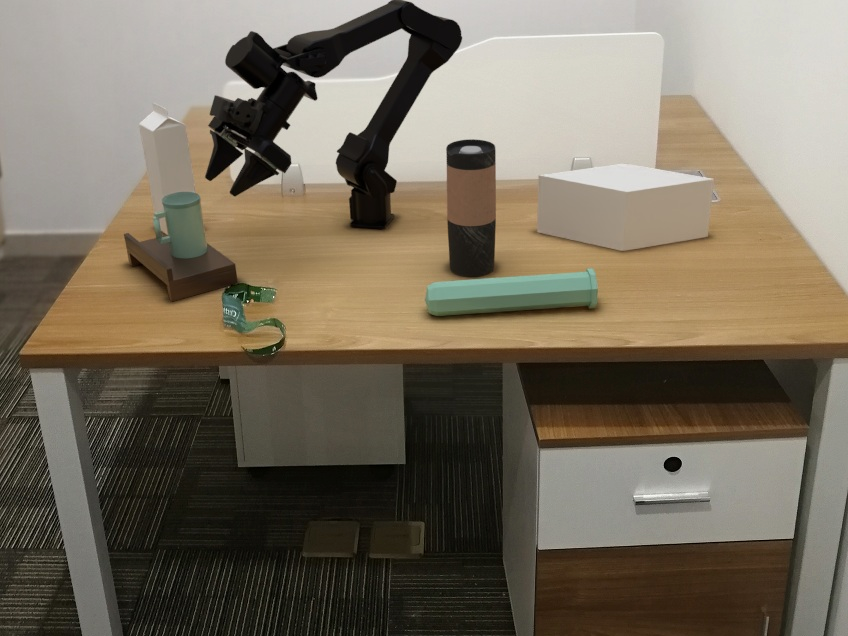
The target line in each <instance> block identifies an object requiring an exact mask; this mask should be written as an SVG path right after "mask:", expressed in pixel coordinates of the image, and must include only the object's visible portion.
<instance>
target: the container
mask: <svg viewBox="0 0 848 636" xmlns="http://www.w3.org/2000/svg"><path fill="white" fill-rule="evenodd" d="M598 294H599V287H598V280H597V273H596V272H595V270H594V268H593V267H589V268H586V270H585V271H577V272H574V271H573V272H562V273H561V272H560V273H547V274H531V275H519V276H518V275H517V276H504V277H503V276H502V277H489V278H488V277H487V278H476V279H475V278H474V279H461V280H460V279H458V280H445V281H434V282H432V283H430V284H428V285H427V286H426V291H425V296H424V302H425V305H426V308H427V311H428V314H430V315H433V316H435V317H444V316H445V317H446V316H458V315H472V314H474V315H475V314H487V313H504V312H516V311H531V310H545V309H546V310H547V309H557V308H573V307H587V308H588V309H595V308H596V306H597V305H598Z"/></svg>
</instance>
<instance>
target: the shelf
mask: <svg viewBox="0 0 848 636" xmlns="http://www.w3.org/2000/svg"><path fill="white" fill-rule="evenodd" d="M166 236H168V235H166V234H165V235H162V237H166ZM123 237H124V243H125V248H126V253H127V259H128V264H129V265H130V266H131V267H135V266H140V265H143V266H144V267H146V269H148V270H149V271H150V272H151V273H153V275H155V276H156V277H157V278H158V279H159V280H160V281H162V282H163V283H164V284H165V285H166V288H167V295H168V299H169V300H170V301H171V302H172V303H173V302H175V301H180V300H182V299H187V298H191V297H194V296H197V295H200V294H204V293H208V292H211V291H215V290H219V289H223V288H225V287H229V286H232V285H236V284H238V283H239V281H238V273H237V267H236V263H235V262H234V261H232V259H230V258H229V257H227V256H226V255H224V254H223V253H221V252H220V251H219V250H217V249H216V248H215V247H213V246H212V245H210V244H209V243H208V242H207V248H208V250H207V252H206V253H205V254H203V255H201V256H198V257H195V258H187V259H182V258H176V257H173V256H172V255H171V252H170V246H169V242H168V243H164V244H160V243H159V241H157V239H156V237H154V238H150V239H146V240H142V241H139V240H138V239H137V238H135V236H133V235H131V234H130V233H129V232H126V233H124V234H123Z"/></svg>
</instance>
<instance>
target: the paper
mask: <svg viewBox="0 0 848 636" xmlns="http://www.w3.org/2000/svg"><path fill="white" fill-rule="evenodd" d="M537 179H538V180H537V215H536V216H537V218H536V233H538V234H544V235H548V236H553V237H557V238H561V239H565V240H566V239H567V240H571V241H574V242H575V241H576V242H580V243H584V244H588V245H593V246H598V247H602V248H607V249H611V250H616V251H621V252H626V251H632V250H637V249H644V248H649V247H656V246H661V245H662V246H663V245H669V244H675V243H680V242H686V241H691V240H692V241H693V240H698V239H702V238H703V239H704V238H709V237H708V236H709V229H710V228H709V227H710V220H711V211H712V203H713V194H714V187H715V186H714V183H715V178H712V177H711V178H710V177H704V176H699V175H693V174H687V173H682V172H677V171H670V170H665V169H659V168H654V167H647V166H642V165H638V164H637V165H636V164H630V163H625V162H624V163H623V162H622V163H617V164H611V165H610V164H609V165H602V166H595V167H587V168H579V169H573V170H565V171H559V172H552V173H545V174H538V178H537Z"/></svg>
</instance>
